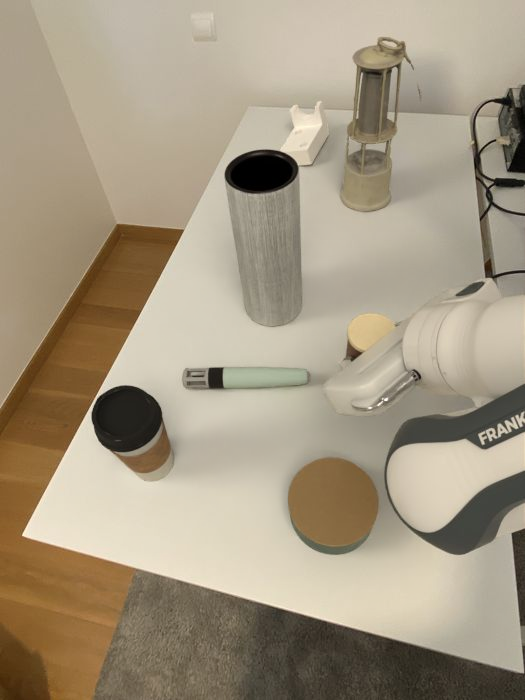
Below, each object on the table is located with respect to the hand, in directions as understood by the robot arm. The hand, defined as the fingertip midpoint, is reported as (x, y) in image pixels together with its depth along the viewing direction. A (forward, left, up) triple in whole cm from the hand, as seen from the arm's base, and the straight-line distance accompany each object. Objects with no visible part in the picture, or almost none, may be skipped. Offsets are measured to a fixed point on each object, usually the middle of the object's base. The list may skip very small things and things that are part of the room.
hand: (365, 349), depth 61 cm
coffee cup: (+26, +16, -17) cm, 34 cm away
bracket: (+28, -64, -17) cm, 72 cm away
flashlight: (+18, -1, -17) cm, 24 cm away
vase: (+19, -17, -17) cm, 30 cm away
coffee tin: (0, +15, -16) cm, 22 cm away
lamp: (+9, -51, -17) cm, 54 cm away
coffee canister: (0, 0, -4) cm, 5 cm away
